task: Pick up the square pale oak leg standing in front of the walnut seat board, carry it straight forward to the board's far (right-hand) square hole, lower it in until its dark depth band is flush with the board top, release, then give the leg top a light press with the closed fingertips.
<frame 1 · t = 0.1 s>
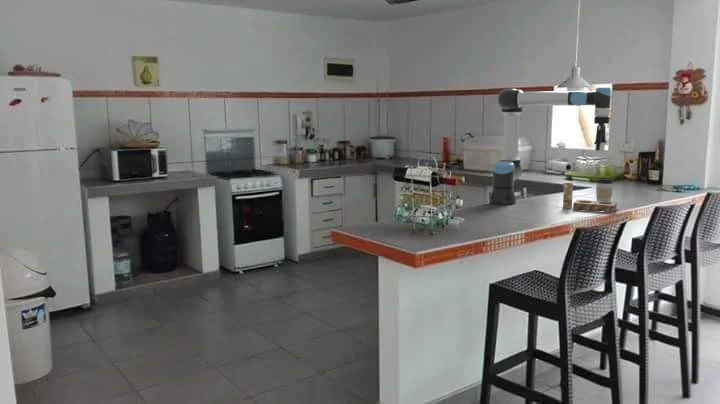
hand: (599, 155, 319), 28 cm above the worktop, fingers open, 13 cm apart
leg: (567, 207, 317), on the worktop
seat board: (594, 209, 311), on the worktop
coffee cup: (603, 205, 326), on the worktop
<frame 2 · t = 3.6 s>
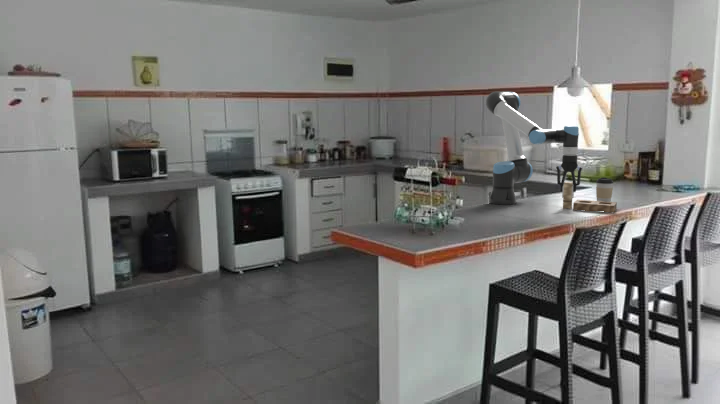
hand: (567, 197, 316), 6 cm above the worktop, fingers closed on leg, 4 cm apart
leg: (567, 207, 317), on the worktop, touching gripper
everything else where it was.
when the fingers open (7 cm above the worktop, at t = 9.9 s): leg stays where it is, resting in seat board.
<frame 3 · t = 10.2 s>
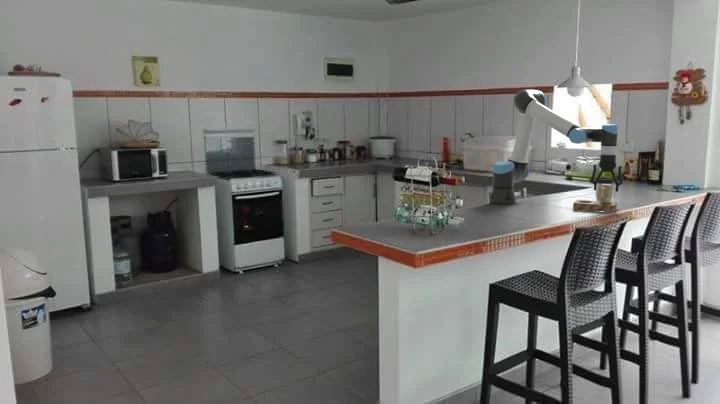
hand: (605, 197, 307), 7 cm above the worktop, fingers open, 8 cm apart
leg: (604, 210, 308), resting in seat board
everything else where it was.
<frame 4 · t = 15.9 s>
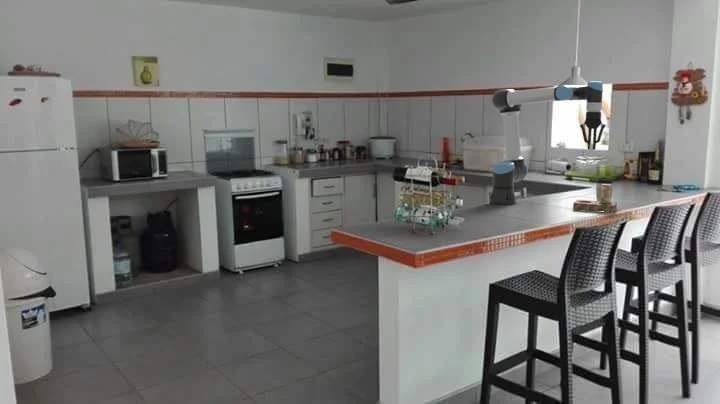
hand: (591, 155, 312), 28 cm above the worktop, fingers closed
nothing on the worktop moved.
at the end: leg 0.0 cm from the target spot on the seat board, point 0.0 cm above the seat board's base; leg tilted 0°; the gripper is holding nothing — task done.
